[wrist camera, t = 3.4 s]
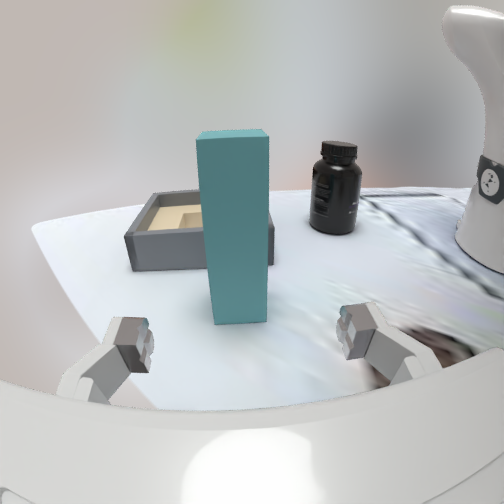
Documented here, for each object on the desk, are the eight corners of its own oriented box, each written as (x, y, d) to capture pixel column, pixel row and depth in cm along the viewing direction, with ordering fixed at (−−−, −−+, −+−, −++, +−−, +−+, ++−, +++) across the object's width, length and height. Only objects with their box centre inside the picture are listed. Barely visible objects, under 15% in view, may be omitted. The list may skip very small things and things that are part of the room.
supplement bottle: (361, 236, 37) (372, 150, 31) (313, 235, 37) (320, 146, 31) (347, 215, 43) (354, 141, 37) (305, 215, 43) (309, 137, 37)
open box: (260, 214, 43) (260, 186, 41) (273, 264, 31) (274, 227, 29) (157, 220, 42) (153, 193, 40) (132, 271, 30) (123, 236, 28)
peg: (261, 290, 28) (261, 129, 20) (266, 321, 24) (268, 136, 16) (215, 292, 27) (202, 131, 20) (214, 324, 24) (195, 139, 16)
